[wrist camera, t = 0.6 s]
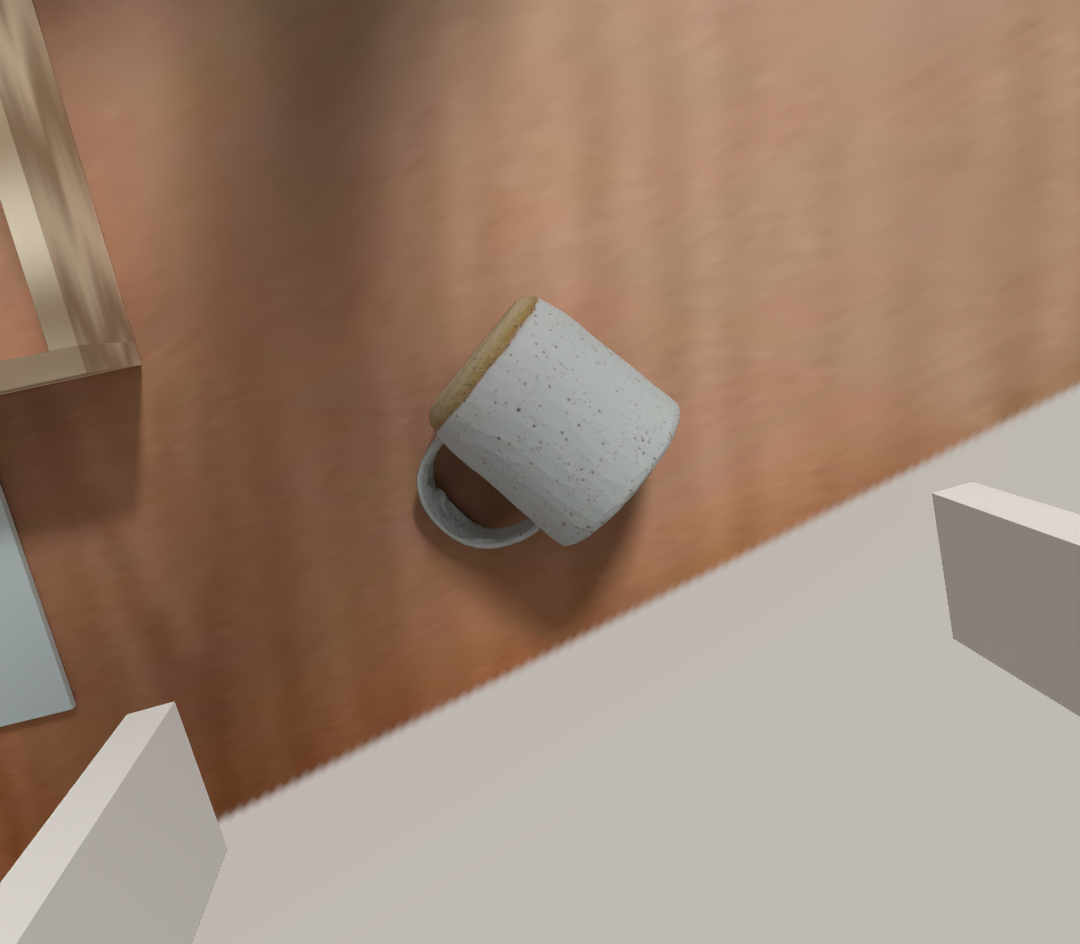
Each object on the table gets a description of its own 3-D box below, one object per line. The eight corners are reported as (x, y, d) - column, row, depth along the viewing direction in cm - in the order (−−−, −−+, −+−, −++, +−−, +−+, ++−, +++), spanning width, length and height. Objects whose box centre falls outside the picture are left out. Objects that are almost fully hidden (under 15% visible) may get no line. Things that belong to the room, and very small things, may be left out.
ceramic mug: (518, 284, 38) (537, 277, 30) (657, 397, 40) (708, 418, 32) (373, 472, 39) (357, 511, 31) (515, 575, 40) (533, 636, 33)
